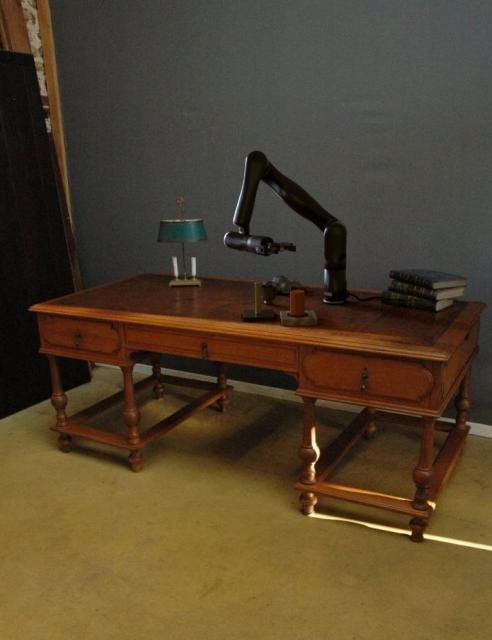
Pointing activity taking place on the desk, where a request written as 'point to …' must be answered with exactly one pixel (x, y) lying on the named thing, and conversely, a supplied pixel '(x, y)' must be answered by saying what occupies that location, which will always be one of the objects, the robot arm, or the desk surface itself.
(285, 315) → the grey stone tile
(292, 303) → the hat
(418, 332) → the desk surface
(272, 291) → the dark ridged round part
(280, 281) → the fossil
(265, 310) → the hat stand
